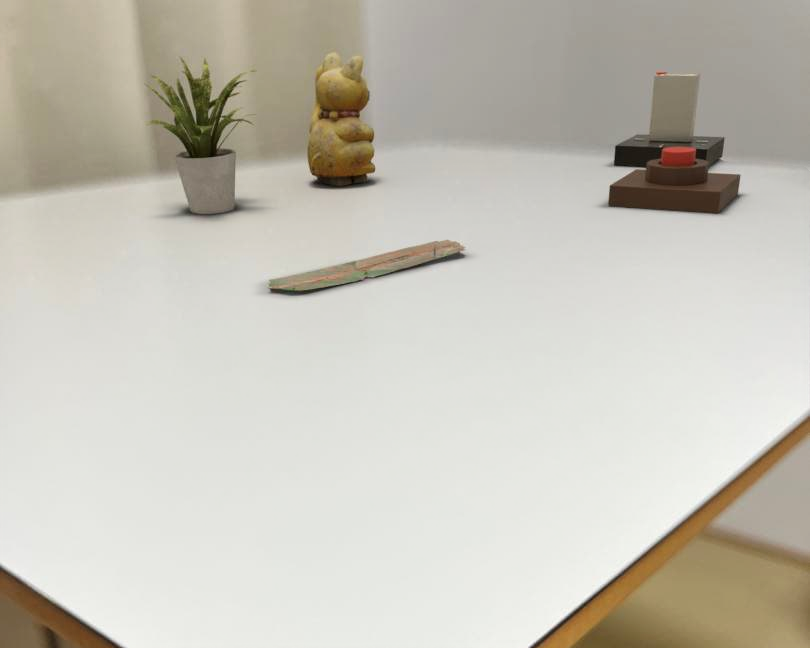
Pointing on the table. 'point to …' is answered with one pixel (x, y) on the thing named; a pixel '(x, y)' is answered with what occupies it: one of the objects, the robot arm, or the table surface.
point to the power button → (678, 156)
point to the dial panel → (643, 150)
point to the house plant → (203, 143)
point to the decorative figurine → (340, 124)
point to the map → (368, 266)
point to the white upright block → (674, 107)
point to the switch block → (675, 188)
